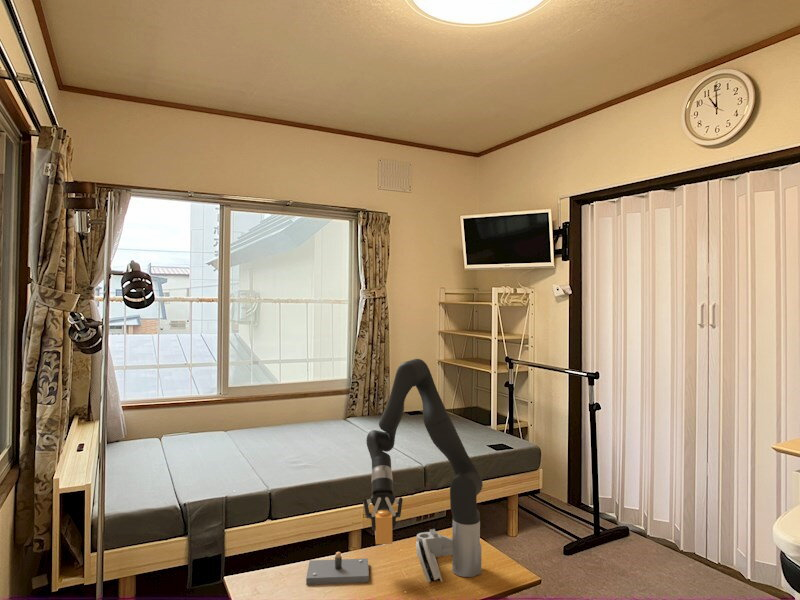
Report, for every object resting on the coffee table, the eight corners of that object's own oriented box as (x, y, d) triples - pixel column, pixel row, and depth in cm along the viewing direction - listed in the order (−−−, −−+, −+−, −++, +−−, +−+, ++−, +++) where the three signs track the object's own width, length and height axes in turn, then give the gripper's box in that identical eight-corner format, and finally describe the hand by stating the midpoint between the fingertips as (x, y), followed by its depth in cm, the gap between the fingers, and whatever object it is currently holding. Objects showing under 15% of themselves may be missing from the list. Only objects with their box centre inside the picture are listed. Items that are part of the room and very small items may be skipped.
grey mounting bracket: (466, 553, 193) (466, 531, 193) (419, 559, 189) (419, 536, 189) (461, 546, 199) (461, 525, 199) (414, 552, 194) (414, 530, 194)
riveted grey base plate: (367, 564, 184) (367, 543, 184) (368, 582, 172) (368, 560, 172) (309, 566, 183) (309, 545, 183) (306, 584, 171) (306, 562, 171)
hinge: (442, 582, 172) (432, 553, 172) (428, 587, 172) (418, 558, 172) (435, 557, 189) (426, 531, 189) (423, 562, 189) (413, 536, 189)
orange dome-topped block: (391, 536, 182) (391, 508, 182) (392, 543, 176) (392, 514, 176) (375, 537, 181) (375, 508, 182) (375, 544, 176) (375, 515, 176)
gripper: (361, 477, 186) (362, 525, 174) (402, 476, 187) (406, 523, 175) (361, 487, 191) (362, 535, 179) (401, 486, 192) (404, 533, 180)
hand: (384, 529), depth 177 cm, fingers closed on orange dome-topped block, 5 cm apart
